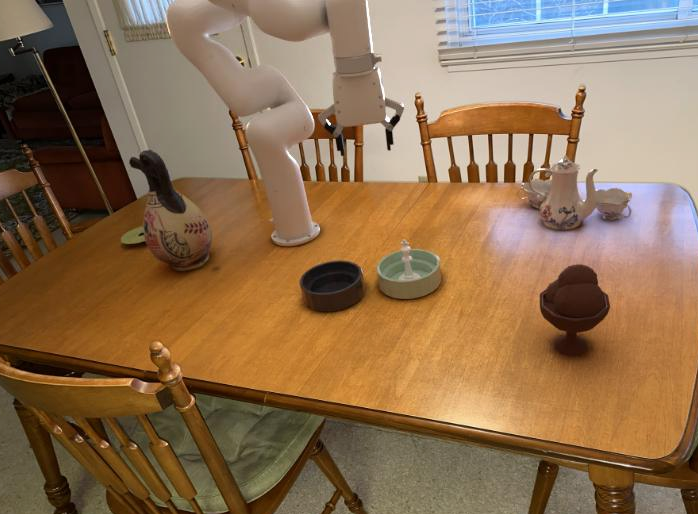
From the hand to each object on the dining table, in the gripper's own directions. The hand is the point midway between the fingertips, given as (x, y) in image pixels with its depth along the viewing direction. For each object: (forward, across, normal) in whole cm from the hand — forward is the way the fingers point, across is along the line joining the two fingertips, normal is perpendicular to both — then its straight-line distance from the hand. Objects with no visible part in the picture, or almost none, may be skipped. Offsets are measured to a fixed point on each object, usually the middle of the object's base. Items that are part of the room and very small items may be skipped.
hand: (366, 151), depth 114 cm
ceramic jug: (+27, +48, -8) cm, 55 cm away
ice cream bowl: (+24, -32, +40) cm, 57 cm away
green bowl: (+25, -6, +13) cm, 29 cm away
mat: (+28, +66, -26) cm, 77 cm away
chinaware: (+24, -46, -7) cm, 52 cm away
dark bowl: (+25, +10, +14) cm, 31 cm away
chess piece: (+25, -6, +13) cm, 29 cm away
